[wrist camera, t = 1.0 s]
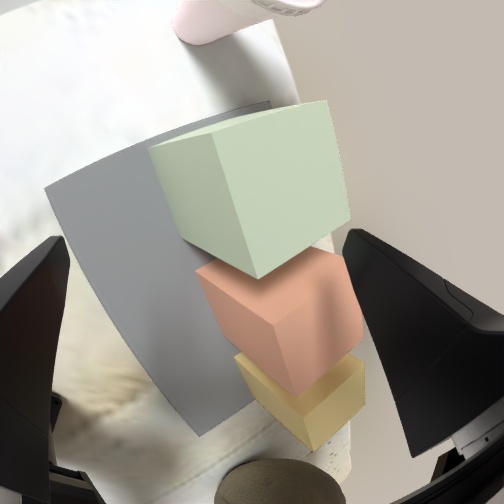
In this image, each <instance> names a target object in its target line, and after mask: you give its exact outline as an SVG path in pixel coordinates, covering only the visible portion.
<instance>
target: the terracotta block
mask: <svg viewBox="0 0 504 504" xmlns="http://www.w3.org/2000/svg"><path fill="white" fill-rule="evenodd" d="M195 272H196V275H197V277H198V279H199V282H200V284H201V286H202V288H203V291H204V293H205V295H206V298H207V300H208V302H209V304H210V307H211V309H212V311H213V313H214V316H215V318H216V320H217V322H218V324H219V327H220V329H221V331H222V333H223V335H224V336H225V337H226V338H227V339H228V340H229V341H230V342H231V343H232V344H234V345H235V346H236V347H237V348H238V349H239V350H240V351H241V352H243V353H244V354H245V355H246V356H247V357H248V358H249V359H250V360H252V361H253V362H254V363H255V364H256V365H257V366H259V367H260V368H261V369H262V370H263V371H264V372H266V373H267V374H268V375H269V376H270V377H272V378H273V379H274V380H275V381H276V382H278V383H279V384H280V385H281V386H282V387H284V388H285V389H286V390H287V391H288V392H290V393H291V394H292V395H293V396H295V397H296V398H297V397H298V396H299V395H300V394H302V393H303V392H304V391H305V390H307V389H308V388H309V387H310V386H311V385H312V384H314V383H315V382H316V381H317V380H318V379H319V378H321V377H322V376H323V375H324V374H325V373H326V372H327V371H329V370H330V369H331V368H332V367H333V366H334V365H335V364H336V363H338V362H339V361H340V360H341V359H342V358H343V357H344V356H345V355H346V354H347V353H348V352H349V351H350V350H352V349H353V348H354V347H355V346H356V345H357V344H358V343H359V342H360V341H361V340H362V339H363V327H362V312H361V308H360V306H359V303H358V301H357V298H356V296H355V293H354V290H353V287H352V284H351V281H350V277H349V274H348V271H347V267H346V264H345V261H344V258H343V257H342V256H339V255H336V254H333V253H330V252H327V251H324V250H321V249H318V248H315V247H312V246H309V247H308V248H306V249H305V250H303V251H302V252H300V253H299V254H297V255H295V256H294V257H292V258H291V259H289V260H288V261H286V262H285V263H283V264H282V265H280V266H278V267H277V268H275V269H274V270H272V271H271V272H269V273H268V274H266V275H264V276H263V277H261V278H260V279H256V278H254V277H252V276H251V275H249V274H247V273H245V272H243V271H241V270H239V269H238V268H236V267H234V266H232V265H230V264H228V263H227V262H225V261H223V260H221V259H219V258H217V259H215V260H213V261H211V262H210V263H208V264H206V265H204V266H203V267H201V268H199V269H197V270H196V271H195Z"/></svg>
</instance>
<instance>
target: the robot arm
mask: <svg viewBox="0 0 504 504" xmlns="http://www.w3.org/2000/svg"><path fill="white" fill-rule="evenodd" d="M342 254H343V258H344V261H345V264H346V267H347V271H348V274H349V277H350V281H351V284H352V287H353V290H354V293H355V296H356V298H357V301H358V303H359V306H360V308H361V311H362V313H363V315H364V318H365V321H366V323H367V326H368V328H369V331H370V334H371V336H372V338H373V341H374V344H375V346H376V350H377V352H378V355H379V358H380V360H381V363H382V366H383V369H384V372H385V374H386V377H387V380H388V382H389V386H390V389H391V392H392V395H393V398H394V401H395V402H396V403H395V404H396V407H397V410H398V414H399V417H400V420H401V423H402V426H403V430H404V433H405V437H406V440H407V443H408V447H409V450H410V454H411V456H412V458H415V457H416V456H419V455H421V454H423V453H424V452H426V451H428V450H430V449H432V448H434V447H436V446H438V445H439V444H441V443H443V442H445V441H446V440H448V439H450V438H452V440H453V443H454V445H455V447H454V448H453V449H451V450H450V451H448V452H446V453H444V454H442V455H441V456H439V457H438V460H437V464H436V467H435V470H434V473H433V476H432V478H431V481H430V483H429V484H427V485H426V486H424V487H422V488H420V489H418V490H416V491H414V492H412V493H411V494H409V495H407V496H405V497H403V498H401V499H399V500H397V501H395V502H392V503H390V504H504V315H502V314H500V313H498V312H497V311H495V310H493V309H492V308H490V307H489V306H487V305H485V304H484V303H482V302H480V301H479V300H477V299H476V298H474V297H472V296H471V295H469V294H468V293H466V292H464V291H462V290H461V289H460V288H458V287H456V286H455V285H453V284H452V283H450V282H449V281H447V280H446V279H443V278H442V277H441V276H439V275H438V274H436V273H434V272H433V271H431V270H430V269H428V268H426V267H425V266H424V265H422V264H420V263H419V262H417V261H416V260H414V259H412V258H411V257H409V256H407V255H406V254H404V253H402V252H401V251H399V250H397V249H396V248H394V247H392V246H391V245H389V244H387V243H386V242H383V241H382V240H380V239H379V238H377V237H375V236H374V235H372V234H370V233H368V232H366V231H365V230H363V229H351V230H349V232H348V235H347V238H346V241H345V243H344V246H343V250H342ZM69 268H70V257H69V254H68V250H67V247H66V243H65V240H64V238H63V237H62V236H50V237H49V238H48V239H46V240H45V241H44V242H43V243H41V244H40V245H39V246H37V247H36V248H35V249H34V250H33V251H31V252H30V253H29V254H28V255H26V256H25V257H24V258H23V259H22V260H20V261H19V262H18V263H17V264H16V265H15V266H13V267H12V268H11V269H10V270H9V271H8V272H7V273H5V274H4V275H3V276H2V277H1V278H0V504H106V503H105V501H104V500H103V498H102V497H101V496H100V494H99V493H98V491H97V490H96V488H95V486H94V485H93V483H92V482H91V480H90V479H89V477H88V475H87V474H86V472H82V471H73V470H69V469H66V468H62V467H59V466H57V462H56V457H55V451H54V445H53V438H52V433H53V429H54V426H55V423H56V420H57V417H58V414H59V411H60V408H61V405H62V399H61V397H60V396H59V395H57V394H55V393H52V382H53V373H54V365H55V358H56V351H57V345H58V339H59V333H60V328H61V323H62V318H63V313H64V307H65V299H66V291H67V283H68V275H69ZM53 400H58V401H53Z"/></svg>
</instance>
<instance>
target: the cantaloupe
mask: <svg viewBox="0 0 504 504" xmlns="http://www.w3.org/2000/svg"><path fill="white" fill-rule="evenodd" d="M214 504H346V500H345V497H344V494H343V493H342V491H341V488H340V486H339V485H338V483H337V482H336V481H335V479H334V478H333V477H331V476H330V475H329V474H328V473H326V472H324V471H323V470H321V469H319V468H317V467H316V466H314V465H311V464H309V463H306V462H303V461H298V460H293V459H282V458H274V459H263V460H257V461H254V462H250V463H247V464H244V465H241V466H239V467H237V468H235V469H234V470H232V471H231V472H230V473H229V474H228V475H227V476H226V477H225V478H224V479H223V481H222V482H221V484H220V486H219V488H218V490H217V491H216V494H215V498H214Z"/></svg>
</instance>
